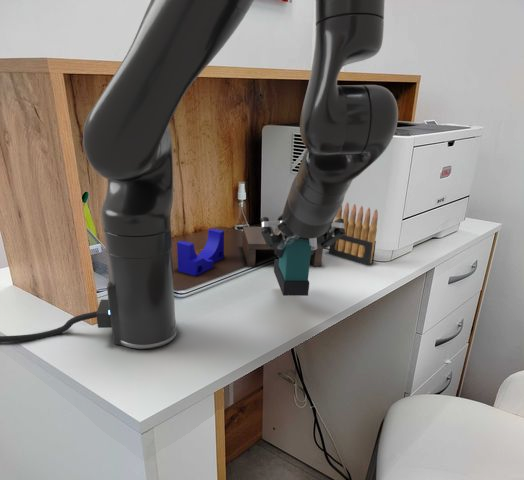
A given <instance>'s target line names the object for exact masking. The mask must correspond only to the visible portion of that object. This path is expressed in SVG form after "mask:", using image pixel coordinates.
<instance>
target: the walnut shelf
mask: <svg viewBox="0 0 524 480" xmlns="http://www.w3.org/2000/svg"><path fill="white" fill-rule="evenodd" d="M279 231H280V230H279V229H278V228H277V229H276V230H275V232H274V234H275V235H277V234H278V233H279ZM241 246H242V252H243V255H244V259H245V263H246V265H247V267H248V268H249V267H256V256H257V254H256V252H257V250H274V247H273V248H269V247H267V245H266V242H265V240H264V238H263V235H262V229H261V226H243V227H242V245H241ZM323 254H324V248H322V247H321V246H319V247H317V249H315V250H314V252H313V254H312V255H311V257H310V263H311V264H312V265H313V267H322V261H323Z"/></svg>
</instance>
